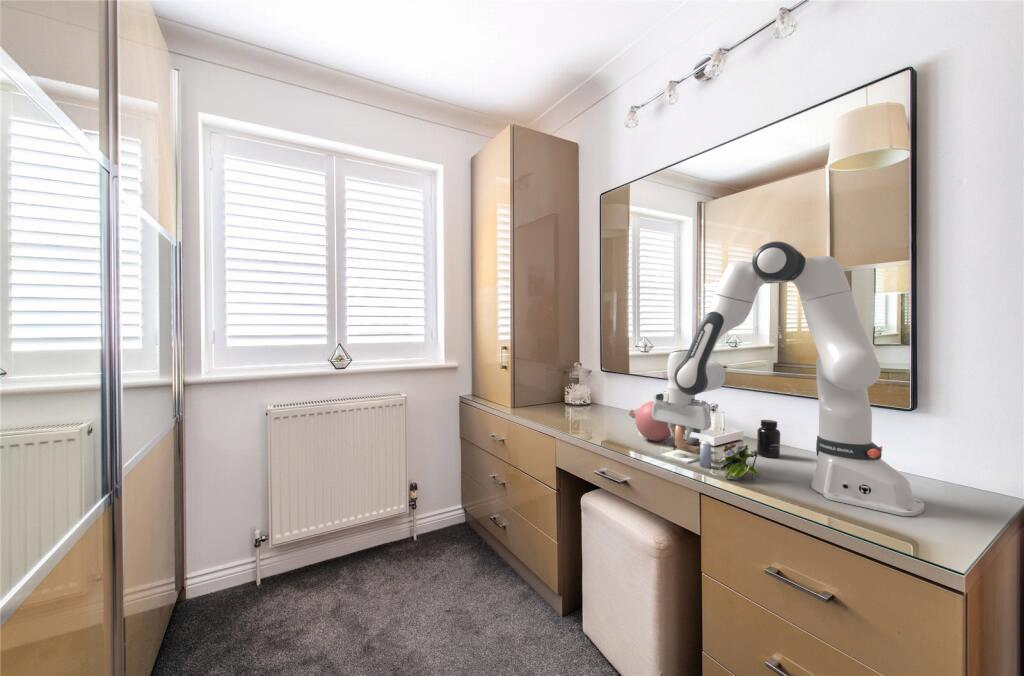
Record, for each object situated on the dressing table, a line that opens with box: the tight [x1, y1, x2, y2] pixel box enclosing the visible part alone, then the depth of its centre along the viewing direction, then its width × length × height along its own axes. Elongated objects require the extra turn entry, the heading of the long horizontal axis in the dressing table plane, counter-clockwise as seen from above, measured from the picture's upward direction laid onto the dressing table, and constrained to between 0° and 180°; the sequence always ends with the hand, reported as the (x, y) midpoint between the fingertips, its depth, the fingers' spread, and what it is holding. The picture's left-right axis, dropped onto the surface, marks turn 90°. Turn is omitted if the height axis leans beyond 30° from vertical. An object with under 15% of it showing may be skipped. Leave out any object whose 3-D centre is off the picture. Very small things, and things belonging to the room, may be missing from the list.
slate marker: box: [699, 440, 712, 469], centre depth 134 cm, size 3×3×8 cm
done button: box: [687, 436, 700, 446], centre depth 151 cm, size 4×4×3 cm
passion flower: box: [718, 443, 760, 480], centre depth 124 cm, size 11×11×12 cm
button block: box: [676, 440, 701, 455], centre depth 151 cm, size 8×8×2 cm
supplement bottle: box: [756, 419, 781, 459], centre depth 145 cm, size 7×7×12 cm
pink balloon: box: [627, 400, 675, 442], centre depth 167 cm, size 15×20×15 cm
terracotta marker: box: [674, 424, 686, 447], centre depth 143 cm, size 3×3×8 cm
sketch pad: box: [660, 449, 700, 464], centre depth 144 cm, size 10×10×1 cm
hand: (679, 437), depth 143 cm, fingers closed on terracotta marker, 3 cm apart
